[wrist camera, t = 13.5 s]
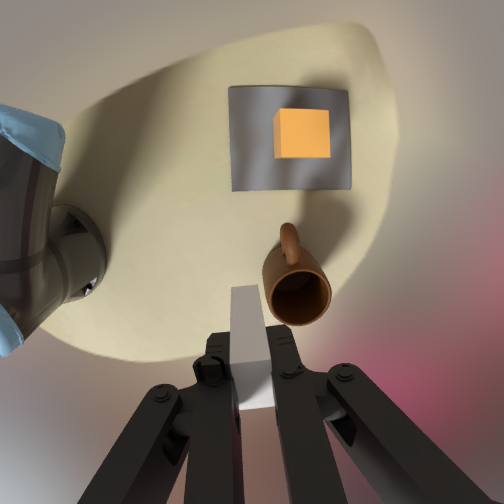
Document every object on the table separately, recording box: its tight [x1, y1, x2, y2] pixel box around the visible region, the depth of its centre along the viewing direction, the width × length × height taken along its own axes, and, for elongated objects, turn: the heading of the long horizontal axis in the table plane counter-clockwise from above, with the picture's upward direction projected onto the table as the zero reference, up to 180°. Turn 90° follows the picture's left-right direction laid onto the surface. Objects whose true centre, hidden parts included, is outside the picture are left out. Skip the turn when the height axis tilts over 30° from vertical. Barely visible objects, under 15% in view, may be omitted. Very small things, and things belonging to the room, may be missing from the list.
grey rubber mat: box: [228, 87, 351, 192], centre depth 31 cm, size 16×14×7 cm
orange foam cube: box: [273, 108, 330, 158], centre depth 30 cm, size 5×5×7 cm
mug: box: [262, 223, 332, 326], centre depth 35 cm, size 12×8×9 cm, turn 11°
